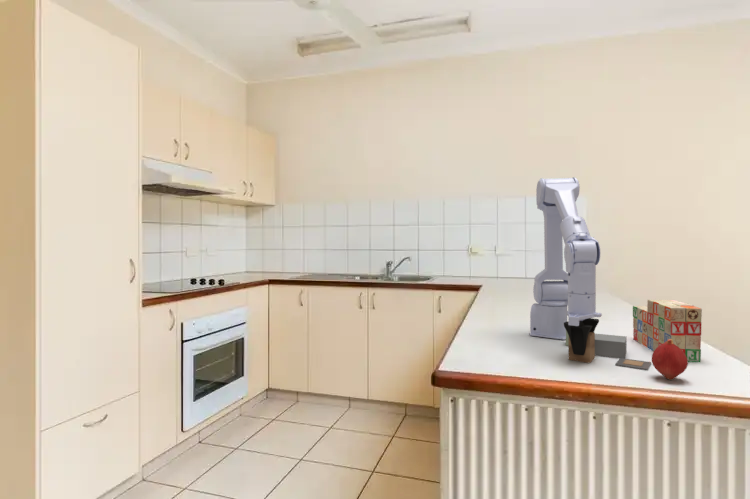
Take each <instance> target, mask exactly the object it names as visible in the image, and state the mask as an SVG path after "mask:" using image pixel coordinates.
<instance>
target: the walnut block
mask: <svg viewBox="0 0 750 499" xmlns="http://www.w3.org/2000/svg"><path fill="white" fill-rule="evenodd" d="M595 334H596V333H595V331H594V332H589V334H588V338H587V343H586V350H585V353H584V355H576V354H574V353H573V350H572V346H571V341H570V338H569V346H568V361H573V362H579V363H587V364H590V363H592V362H594V360H595V359H596V358H595V357H596V356H595Z"/></svg>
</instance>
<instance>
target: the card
mask: <svg viewBox="0 0 750 499" xmlns="http://www.w3.org/2000/svg"><path fill="white" fill-rule="evenodd" d="M614 364H615V366H616V367H623V368H629V369H637V370H643V371H649V369H650V367H651V365H652V361H644V360H638V359H630V358H626V359H625V358H618V359H617V361H616V362H615V363H614Z"/></svg>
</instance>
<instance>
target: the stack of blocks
mask: <svg viewBox="0 0 750 499" xmlns="http://www.w3.org/2000/svg"><path fill="white" fill-rule="evenodd" d="M646 303H647V305H633V306H632V318H633V319H632V320H633V321H632V328H633V330H632V332H633V334H632V335H633V337H632V338H633V340H635V341H636V342H638V343H639V344H640V345H643V346H644V347H645V348H648V349H649V350H651V351H652V352H654V351H655V349H656V348H657V347H658V346H659V345H661V344H663V343H665V342H666V341H667V340H668V339H672V340H673V343H674V344H675V345H676V346H678V347H679V348H680V349H681V350H682V351H683V352H684V353H685V355H686V357H687V360H688V363H701V361H702V360H701V359H702V349H701V344H702V343H701V342H702V340H701V339H702V337H701V336H702V318H703V317H702V316H703V312H702V311H703V309H702V308H701V307H697V306H695V305H694V304H691V303H686V302H683V301H679V300H676V299H647V302H646Z"/></svg>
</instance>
